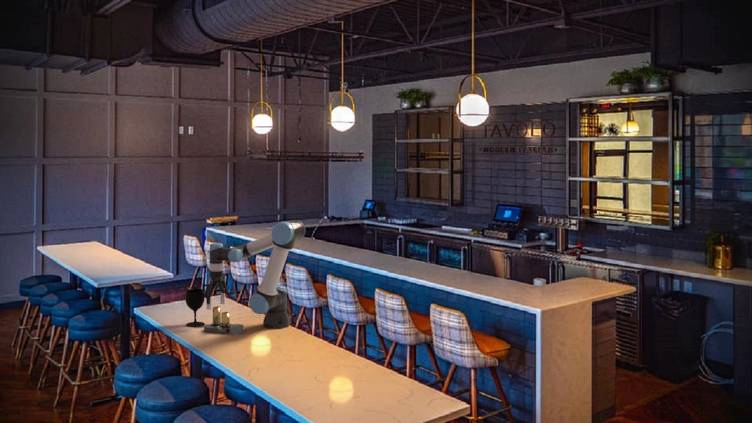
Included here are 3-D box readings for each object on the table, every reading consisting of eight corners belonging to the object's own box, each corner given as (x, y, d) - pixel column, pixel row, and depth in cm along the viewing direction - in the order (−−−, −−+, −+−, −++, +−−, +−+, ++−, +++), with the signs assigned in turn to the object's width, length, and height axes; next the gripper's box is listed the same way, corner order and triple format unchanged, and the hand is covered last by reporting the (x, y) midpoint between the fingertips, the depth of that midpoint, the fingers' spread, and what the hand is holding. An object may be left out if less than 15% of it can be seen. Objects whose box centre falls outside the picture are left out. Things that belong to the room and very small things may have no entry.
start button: (235, 326, 349) (235, 323, 349) (240, 327, 348) (240, 323, 348) (232, 328, 346) (232, 324, 346) (237, 328, 345) (237, 325, 345)
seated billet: (224, 329, 354) (224, 311, 353) (231, 330, 352) (231, 312, 351) (219, 331, 350) (219, 313, 349) (226, 332, 348) (226, 313, 347)
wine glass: (201, 327, 357) (201, 292, 355) (183, 327, 357) (182, 292, 355) (206, 322, 367) (206, 288, 366) (189, 322, 368) (188, 288, 366)
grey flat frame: (215, 326, 359) (215, 322, 359) (236, 329, 355) (236, 324, 354) (203, 331, 349) (203, 326, 349) (225, 334, 344) (225, 329, 344)
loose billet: (215, 323, 366) (215, 305, 365) (222, 324, 365) (222, 306, 364) (211, 325, 362) (211, 307, 361) (217, 325, 360) (217, 308, 359)
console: (235, 330, 351) (235, 323, 351) (243, 331, 349) (243, 324, 349) (229, 333, 345) (229, 326, 345) (237, 334, 344) (237, 327, 343)
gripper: (222, 265, 373) (222, 301, 375) (197, 273, 350) (197, 311, 352) (233, 267, 371) (233, 302, 373) (208, 274, 347) (208, 312, 349)
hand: (216, 306), depth 362 cm, fingers open, 13 cm apart
